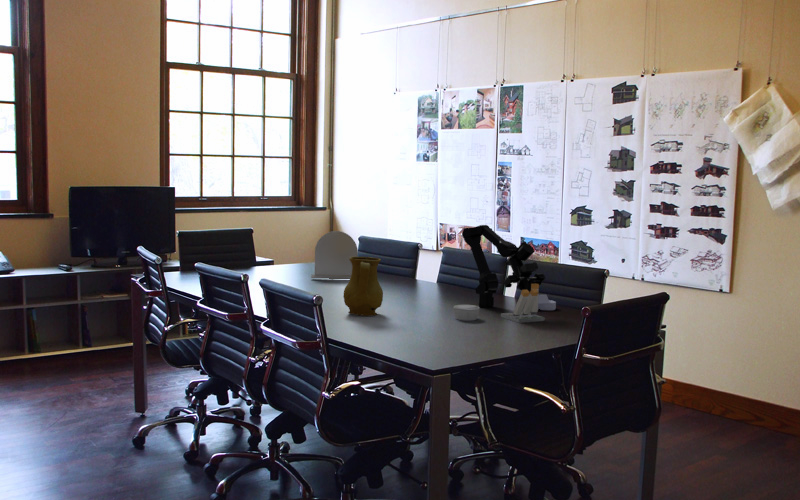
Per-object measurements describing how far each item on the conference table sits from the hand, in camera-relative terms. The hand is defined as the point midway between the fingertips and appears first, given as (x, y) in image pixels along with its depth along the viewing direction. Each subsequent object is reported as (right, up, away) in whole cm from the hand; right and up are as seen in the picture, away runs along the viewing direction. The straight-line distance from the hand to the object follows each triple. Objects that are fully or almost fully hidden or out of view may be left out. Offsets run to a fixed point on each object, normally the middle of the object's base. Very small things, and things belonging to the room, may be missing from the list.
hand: (532, 295), depth 326 cm
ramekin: (-29, -10, -3) cm, 30 cm away
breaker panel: (-4, -10, -1) cm, 11 cm away
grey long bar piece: (-3, -8, -3) cm, 9 cm away
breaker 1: (-7, -8, -5) cm, 12 cm away
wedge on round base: (+9, -8, +25) cm, 27 cm away
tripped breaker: (+1, -8, -1) cm, 8 cm away
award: (-94, +3, +104) cm, 140 cm away
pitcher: (-73, -8, +2) cm, 74 cm away
